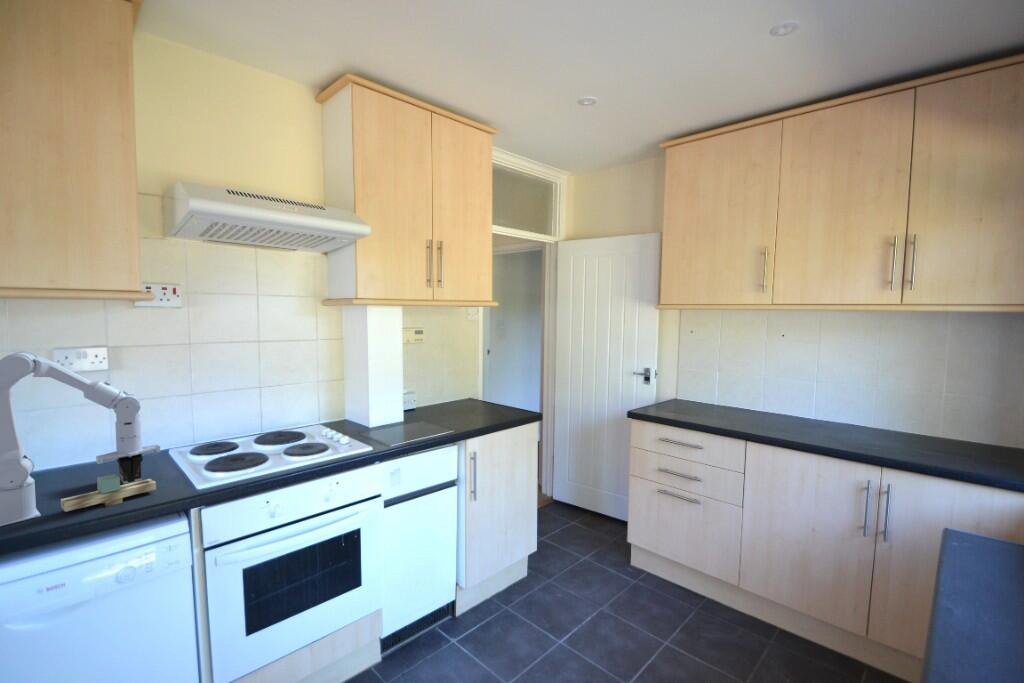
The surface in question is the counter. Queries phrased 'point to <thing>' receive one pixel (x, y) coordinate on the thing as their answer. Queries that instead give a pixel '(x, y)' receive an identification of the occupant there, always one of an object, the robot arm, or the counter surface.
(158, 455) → the counter surface
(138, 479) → the supplement box
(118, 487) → the block
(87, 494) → the beam
